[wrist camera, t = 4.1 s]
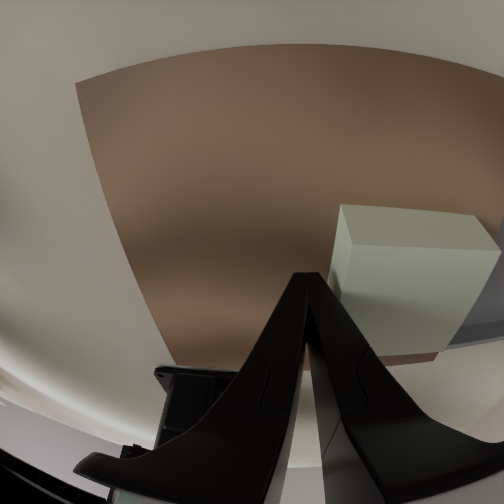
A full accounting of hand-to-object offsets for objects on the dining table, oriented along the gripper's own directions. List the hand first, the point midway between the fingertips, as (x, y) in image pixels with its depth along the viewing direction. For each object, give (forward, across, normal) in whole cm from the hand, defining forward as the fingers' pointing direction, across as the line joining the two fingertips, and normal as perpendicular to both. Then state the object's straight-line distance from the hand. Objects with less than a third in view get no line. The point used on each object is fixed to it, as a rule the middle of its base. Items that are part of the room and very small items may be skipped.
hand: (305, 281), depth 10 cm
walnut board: (+3, 0, 0) cm, 3 cm away
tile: (+1, -3, 0) cm, 4 cm away
